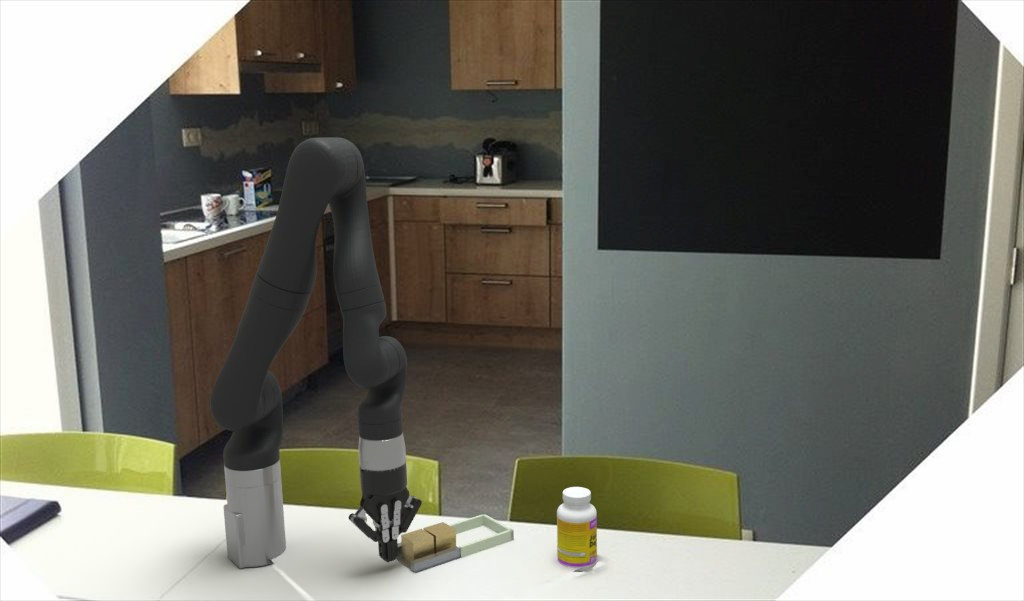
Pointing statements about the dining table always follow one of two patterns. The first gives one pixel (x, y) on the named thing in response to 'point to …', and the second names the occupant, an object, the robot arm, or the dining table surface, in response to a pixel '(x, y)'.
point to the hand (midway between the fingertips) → (388, 559)
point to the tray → (502, 537)
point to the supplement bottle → (577, 530)
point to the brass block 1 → (417, 545)
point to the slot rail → (429, 559)
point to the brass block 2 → (442, 536)
